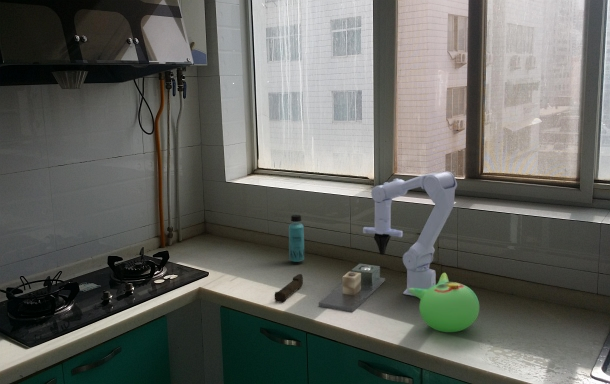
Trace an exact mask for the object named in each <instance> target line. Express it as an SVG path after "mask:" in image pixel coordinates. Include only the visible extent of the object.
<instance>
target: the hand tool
mask: <svg viewBox="0 0 610 384" xmlns="http://www.w3.org/2000/svg"><path fill="white" fill-rule="evenodd" d="M303 283H304V276H303V274H302V273H299V274H297V275H295V276H293V277H292V281H290V282H289V283H288V284H287V285H285V286H284V287H283V288H281V289H279V290H278V291H275V292H274V301H275V302H277V303H284V302H286V300H287V299H288V297H290V296H292V294H293V293H295V292H296V291H297V290H300V289H301V288H302V287H303Z"/></svg>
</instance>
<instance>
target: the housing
mask: <svg viewBox="0 0 610 384" xmlns="http://www.w3.org/2000/svg"><path fill="white" fill-rule="evenodd" d="M341 278H342V284H343V294H349V295H355V294H357V293H358V292H359V291H360V290H361V273H357V272H351V271H347V273H346V274H344V275H343V276H342V277H341Z"/></svg>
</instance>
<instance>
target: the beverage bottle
mask: <svg viewBox="0 0 610 384" xmlns="http://www.w3.org/2000/svg"><path fill="white" fill-rule="evenodd" d="M290 218H291V219H290V221H291V223H290V224H289V225H288V259H289V261H291V262H295V263H297V262H302V261H304V260H305V230H304V229H305V228H304V227H305V225H304V224H302V222H301V221H302V216H301V214H292V215H291V217H290Z"/></svg>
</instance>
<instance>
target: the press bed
mask: <svg viewBox="0 0 610 384" xmlns="http://www.w3.org/2000/svg"><path fill="white" fill-rule="evenodd" d="M361 267H370V268H371V270H370V271H367V270H361ZM350 272H357V273H361V290H360V291H359V292H358V293H357V294H355V295H349V294H343V283H341V284H340V285H339V286H338V287H336V288H335V289H334V290H332V292H330V293H329V294H328V295H326V297H324V298H323V299H321V300H320V301H319V302H318V307H321V308H328V309H333V310H338V311H345V312H349V313H353V312H354V311H356V310H357V309H358V307H360V306H361V305H362V304H363V303H364V302H365V301H366V300H367V299H368V298H369V297H370V296H371V295H372V294H373V293H374V292H375V291H377V289H379V287H381V286H382V285H383V284H384V283H385V282H386V278H385V277H381V266H379V265H374V264H372V265H371V264H366V263H358V264H357V265H356V266H354V267H353V268H352V269H351V271H350ZM384 281H385V282H384ZM383 282H384V283H383ZM382 283H383V284H382ZM381 284H382V285H381ZM380 285H381V286H380Z"/></svg>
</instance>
